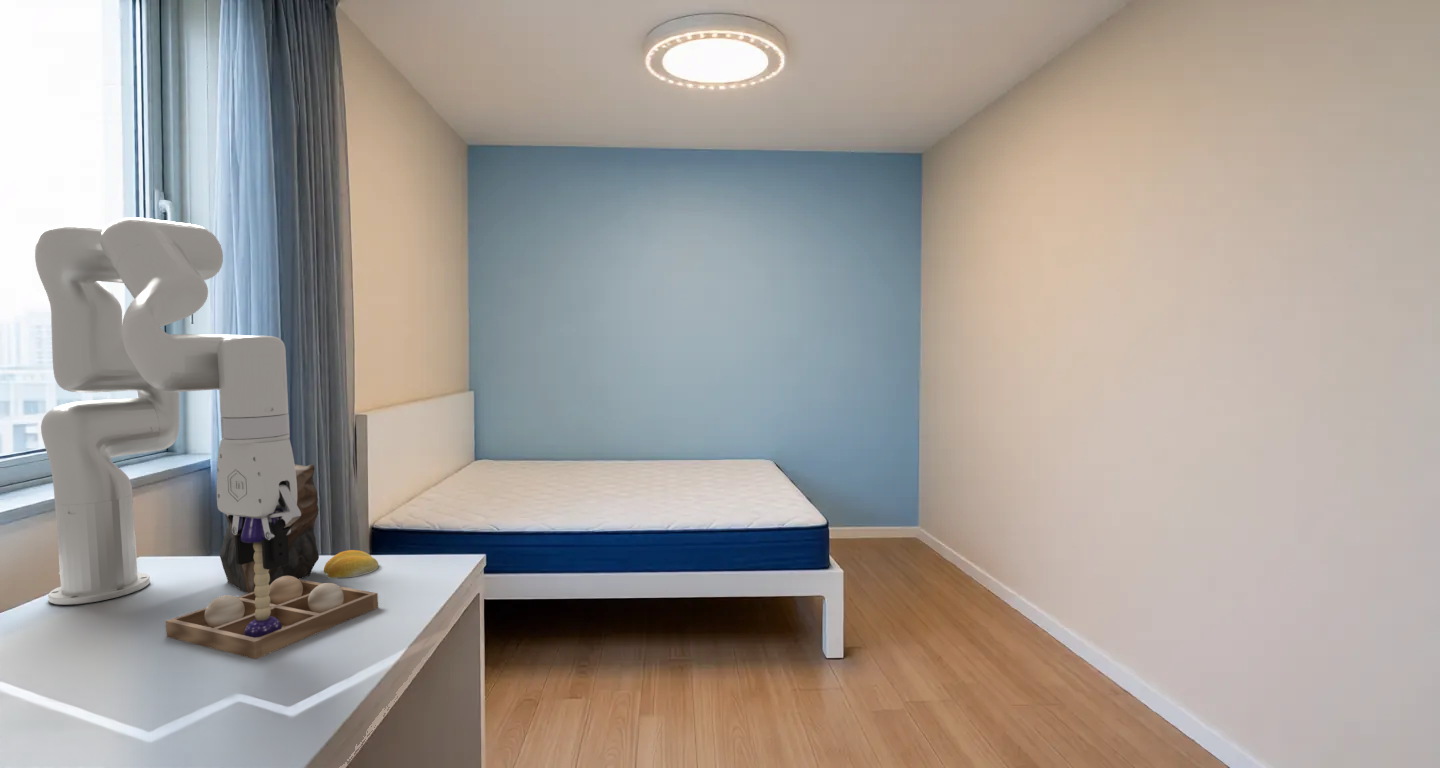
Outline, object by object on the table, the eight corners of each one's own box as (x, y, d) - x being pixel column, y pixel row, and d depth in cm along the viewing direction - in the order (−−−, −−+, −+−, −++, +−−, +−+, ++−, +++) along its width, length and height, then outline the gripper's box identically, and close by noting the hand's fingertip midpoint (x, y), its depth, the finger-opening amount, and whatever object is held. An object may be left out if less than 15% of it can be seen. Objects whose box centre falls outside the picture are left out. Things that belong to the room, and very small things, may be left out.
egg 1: (197, 632, 97) (195, 599, 97) (232, 620, 101) (230, 588, 101) (219, 637, 95) (217, 604, 95) (253, 624, 100) (251, 592, 99)
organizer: (167, 642, 96) (165, 620, 96) (294, 596, 113) (293, 578, 113) (256, 665, 89) (254, 641, 89) (378, 612, 106) (377, 593, 105)
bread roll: (332, 587, 118) (330, 563, 118) (321, 574, 125) (319, 551, 125) (384, 575, 123) (383, 553, 123) (371, 563, 130) (370, 542, 130)
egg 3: (301, 618, 102) (299, 586, 102) (329, 606, 106) (328, 576, 106) (323, 622, 100) (321, 590, 100) (351, 611, 104) (350, 580, 104)
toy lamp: (258, 624, 97) (251, 505, 96) (293, 623, 98) (287, 504, 97) (237, 639, 92) (230, 514, 91) (274, 637, 93) (268, 512, 92)
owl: (218, 584, 119) (211, 467, 118) (299, 565, 129) (293, 457, 128) (247, 600, 112) (241, 475, 110) (331, 578, 122) (325, 463, 120)
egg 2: (261, 609, 105) (259, 579, 105) (290, 599, 110) (288, 570, 109) (281, 614, 104) (280, 583, 103) (310, 603, 108) (309, 573, 107)
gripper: (185, 429, 93) (193, 565, 94) (271, 435, 87) (278, 581, 88) (243, 423, 100) (249, 549, 101) (326, 428, 93) (332, 563, 95)
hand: (262, 562), depth 94 cm, fingers closed on toy lamp, 4 cm apart
